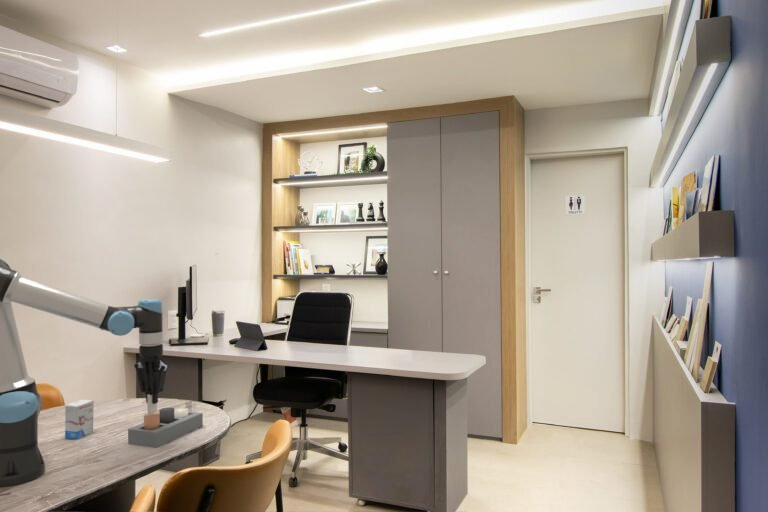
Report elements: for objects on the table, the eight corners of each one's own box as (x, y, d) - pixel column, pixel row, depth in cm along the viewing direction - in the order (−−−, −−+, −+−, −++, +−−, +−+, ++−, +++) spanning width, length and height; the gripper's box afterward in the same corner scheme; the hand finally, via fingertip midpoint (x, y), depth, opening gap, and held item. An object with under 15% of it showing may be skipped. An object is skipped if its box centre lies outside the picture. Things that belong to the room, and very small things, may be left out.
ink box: (77, 439, 197) (76, 405, 197) (64, 438, 198) (64, 405, 198) (94, 431, 206) (94, 399, 205) (82, 431, 207) (81, 398, 206)
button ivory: (182, 428, 206) (182, 412, 206) (171, 427, 208) (170, 410, 207) (191, 424, 211) (191, 408, 210) (180, 423, 212) (180, 407, 212)
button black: (167, 429, 199) (167, 412, 199) (156, 427, 200) (156, 410, 200) (177, 424, 203) (177, 408, 203) (166, 423, 205) (166, 407, 205)
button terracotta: (152, 435, 192) (152, 418, 192) (140, 434, 193) (140, 416, 193) (162, 431, 196) (162, 414, 196) (151, 429, 198) (151, 412, 198)
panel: (156, 447, 189) (156, 432, 189) (128, 443, 193) (128, 429, 193) (202, 426, 211) (202, 413, 211) (176, 423, 215) (176, 410, 215)
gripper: (174, 343, 196) (175, 411, 196) (144, 341, 200) (145, 408, 201) (158, 347, 189) (159, 417, 189) (127, 345, 193) (129, 414, 194)
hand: (152, 412), depth 195 cm, fingers closed
